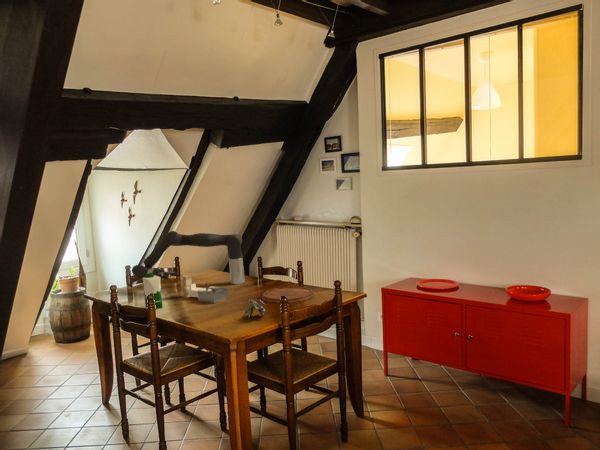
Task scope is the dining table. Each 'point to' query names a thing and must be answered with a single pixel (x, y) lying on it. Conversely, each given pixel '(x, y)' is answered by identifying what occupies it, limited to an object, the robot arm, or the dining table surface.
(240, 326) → the dining table surface
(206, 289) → the gauge plunger
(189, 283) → the beech block
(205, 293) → the gauge housing
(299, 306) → the dining table surface
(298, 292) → the cutting board
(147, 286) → the milk carton
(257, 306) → the passion flower
